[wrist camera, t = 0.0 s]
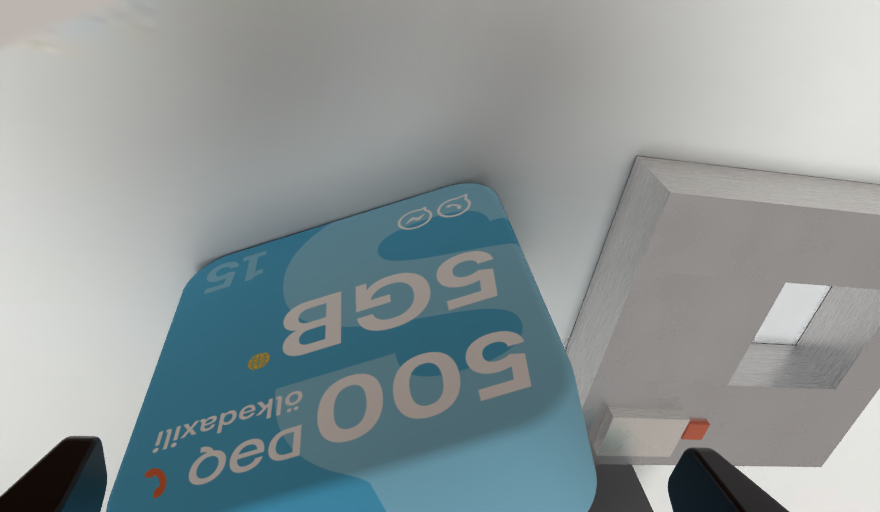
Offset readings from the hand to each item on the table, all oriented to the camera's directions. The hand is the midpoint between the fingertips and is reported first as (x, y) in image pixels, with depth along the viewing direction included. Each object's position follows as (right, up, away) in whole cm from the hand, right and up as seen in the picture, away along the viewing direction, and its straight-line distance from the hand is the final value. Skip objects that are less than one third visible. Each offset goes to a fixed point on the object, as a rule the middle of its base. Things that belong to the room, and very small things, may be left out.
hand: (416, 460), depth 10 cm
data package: (-3, +3, +16) cm, 16 cm away
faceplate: (+14, +1, +19) cm, 24 cm away
